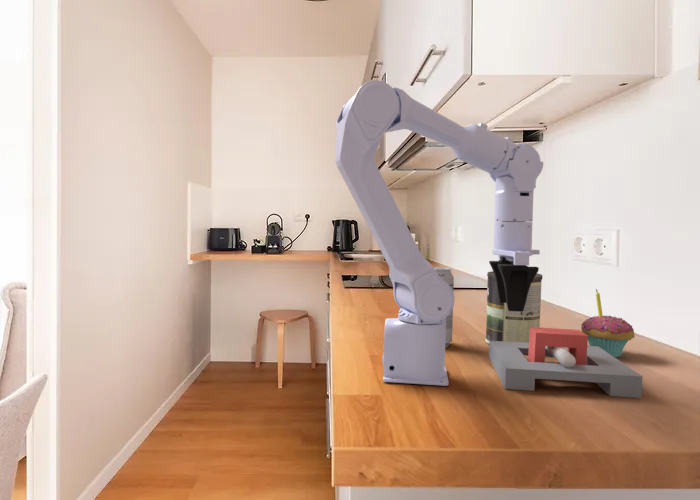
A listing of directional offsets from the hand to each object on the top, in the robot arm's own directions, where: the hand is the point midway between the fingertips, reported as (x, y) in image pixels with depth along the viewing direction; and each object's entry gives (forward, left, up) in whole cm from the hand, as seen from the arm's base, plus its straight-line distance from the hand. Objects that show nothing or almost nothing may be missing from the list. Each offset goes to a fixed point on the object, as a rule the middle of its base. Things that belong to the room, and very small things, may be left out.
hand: (510, 306), depth 73 cm
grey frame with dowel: (+7, -1, -10) cm, 12 cm away
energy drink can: (-11, +14, -11) cm, 21 cm away
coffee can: (+4, +18, -11) cm, 21 cm away
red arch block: (+7, -1, -9) cm, 12 cm away
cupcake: (+20, +14, -11) cm, 26 cm away
